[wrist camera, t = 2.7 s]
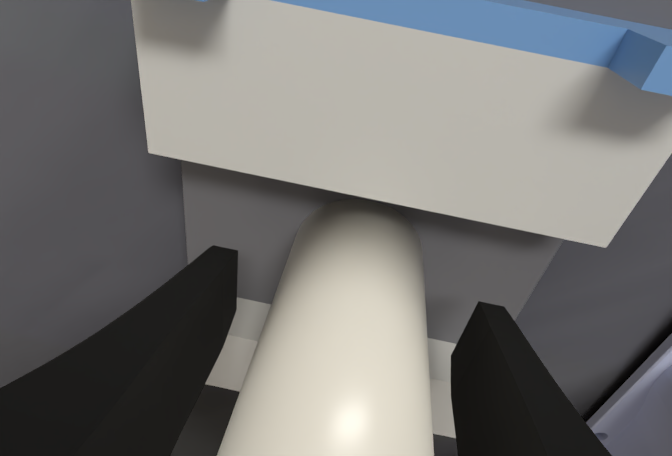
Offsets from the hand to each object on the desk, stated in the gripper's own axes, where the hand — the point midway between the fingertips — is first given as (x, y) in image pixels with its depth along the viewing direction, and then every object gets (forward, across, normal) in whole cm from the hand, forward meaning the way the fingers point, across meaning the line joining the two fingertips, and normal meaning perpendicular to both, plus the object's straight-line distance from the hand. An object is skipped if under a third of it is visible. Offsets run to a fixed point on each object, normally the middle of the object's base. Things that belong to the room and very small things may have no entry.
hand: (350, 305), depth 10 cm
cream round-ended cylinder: (+2, 0, 0) cm, 2 cm away
